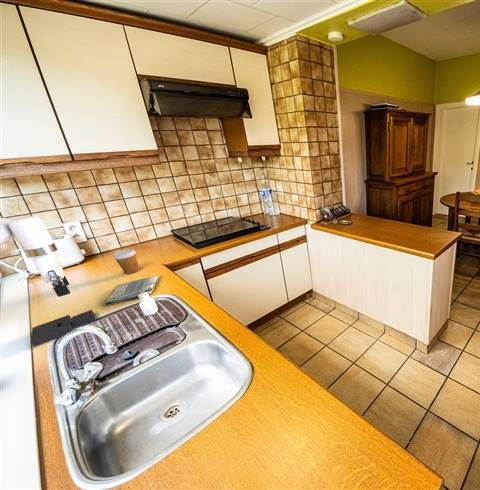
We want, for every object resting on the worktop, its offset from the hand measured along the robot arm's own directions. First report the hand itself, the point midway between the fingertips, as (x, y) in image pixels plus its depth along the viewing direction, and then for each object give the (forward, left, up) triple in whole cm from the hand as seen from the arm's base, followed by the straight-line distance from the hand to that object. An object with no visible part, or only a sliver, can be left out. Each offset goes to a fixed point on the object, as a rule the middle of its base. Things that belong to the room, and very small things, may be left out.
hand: (64, 290), depth 103 cm
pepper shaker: (+20, -16, -16) cm, 30 cm away
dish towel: (+19, +12, -16) cm, 27 cm away
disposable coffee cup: (+22, +40, -16) cm, 48 cm away
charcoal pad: (-8, -1, -15) cm, 17 cm away
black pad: (-1, -1, -15) cm, 15 cm away
